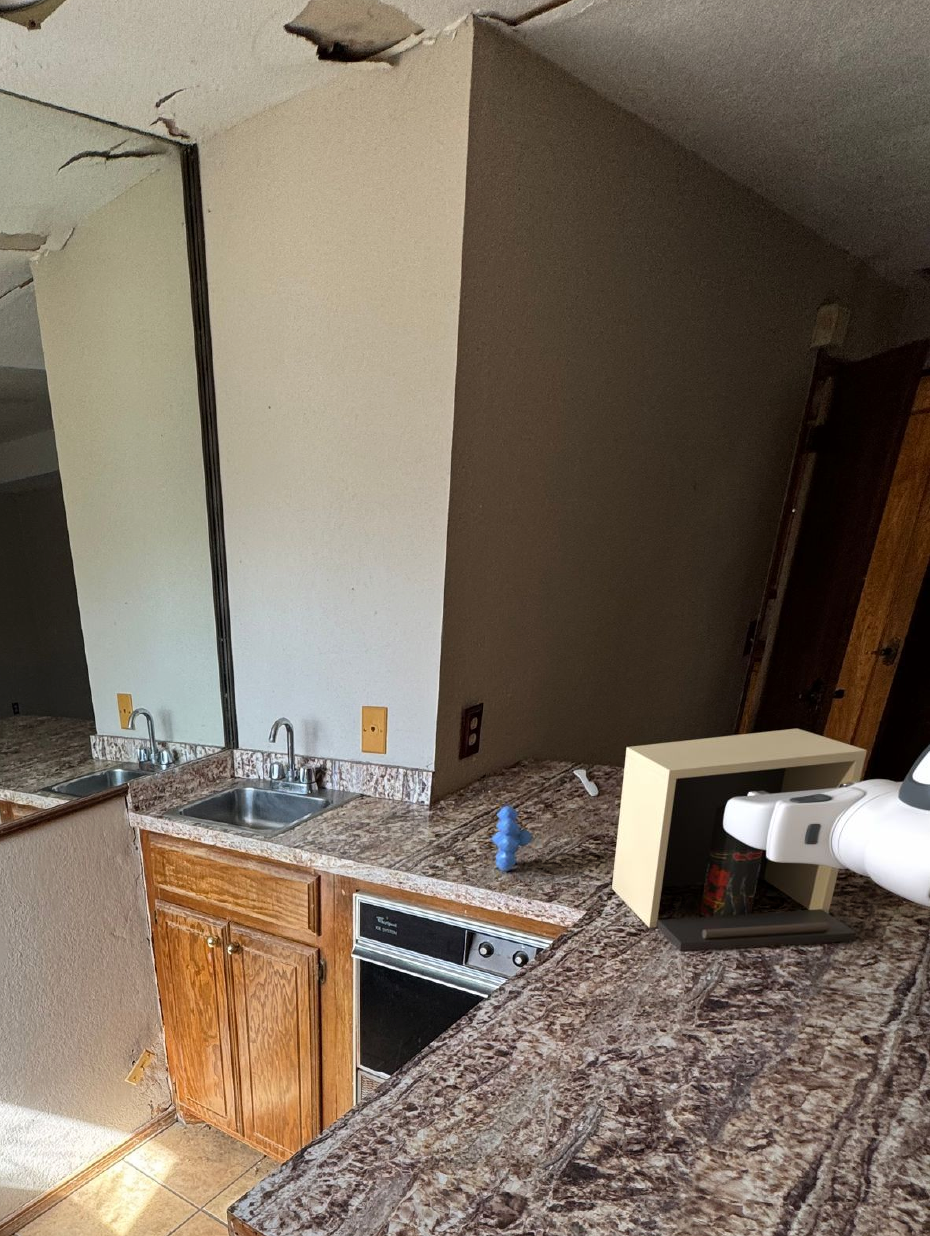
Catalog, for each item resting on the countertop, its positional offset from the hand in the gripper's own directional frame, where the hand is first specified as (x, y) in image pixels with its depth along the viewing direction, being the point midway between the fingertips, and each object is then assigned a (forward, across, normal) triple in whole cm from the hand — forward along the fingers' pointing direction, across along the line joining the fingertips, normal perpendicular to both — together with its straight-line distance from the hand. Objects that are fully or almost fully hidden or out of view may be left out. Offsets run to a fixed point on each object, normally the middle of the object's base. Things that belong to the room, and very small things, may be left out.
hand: (799, 793), depth 91 cm
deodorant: (+12, 0, +20) cm, 24 cm away
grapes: (+36, +24, +20) cm, 48 cm away
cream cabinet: (+13, 0, +20) cm, 24 cm away
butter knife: (+90, -3, +20) cm, 93 cm away
